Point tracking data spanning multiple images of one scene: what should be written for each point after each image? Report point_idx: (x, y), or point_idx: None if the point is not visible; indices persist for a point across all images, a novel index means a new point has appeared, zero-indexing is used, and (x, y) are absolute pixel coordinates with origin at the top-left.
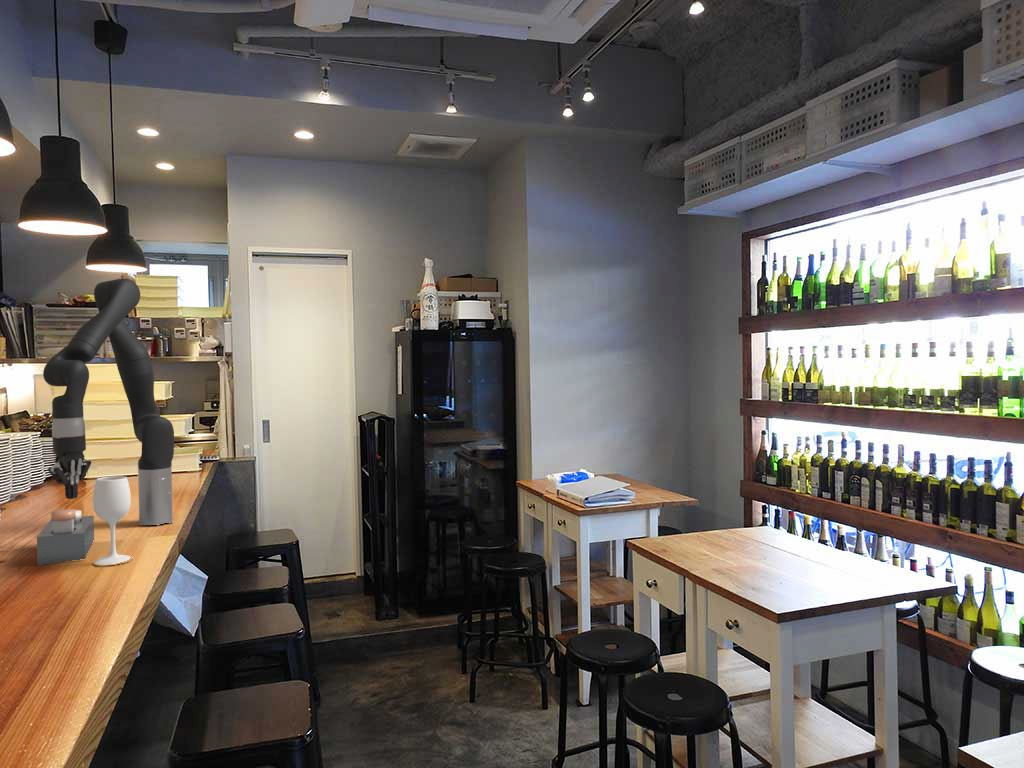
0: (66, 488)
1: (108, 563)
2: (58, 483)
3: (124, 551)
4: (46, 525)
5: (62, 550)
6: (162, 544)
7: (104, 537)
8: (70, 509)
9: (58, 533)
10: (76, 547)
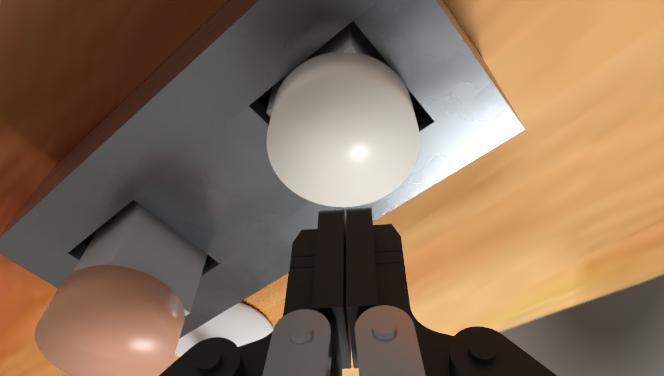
0: (291, 307)
1: (176, 355)
2: (193, 350)
3: None
4: (182, 73)
5: None
6: (445, 332)
7: (554, 57)
8: (157, 350)
9: None
10: None
